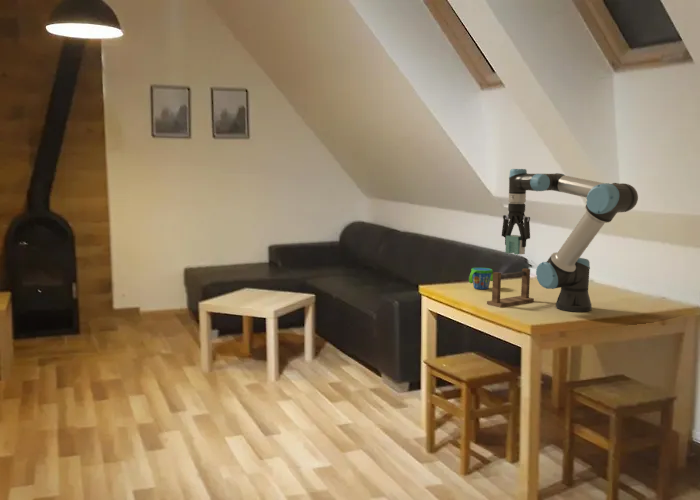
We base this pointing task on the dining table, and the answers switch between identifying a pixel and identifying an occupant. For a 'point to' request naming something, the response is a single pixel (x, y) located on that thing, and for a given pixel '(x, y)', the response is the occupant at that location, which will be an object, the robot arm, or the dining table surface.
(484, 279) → the snack cup
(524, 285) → the stand
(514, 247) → the link
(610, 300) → the dining table surface
